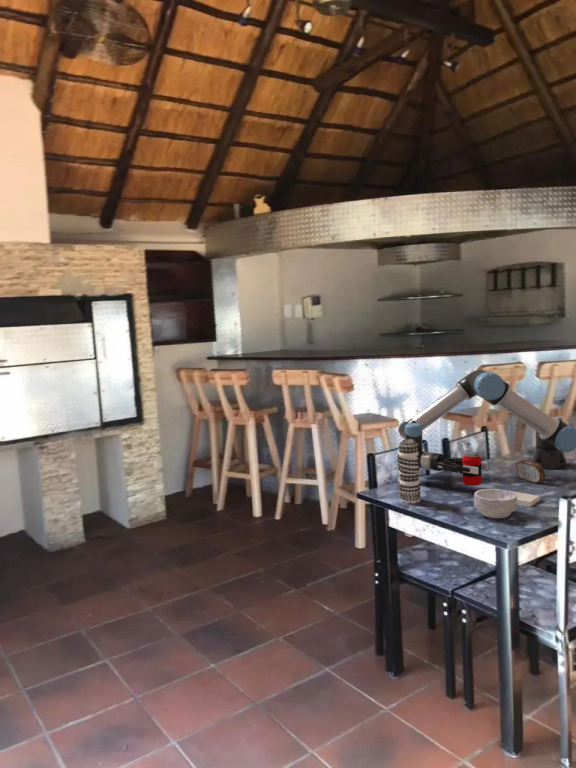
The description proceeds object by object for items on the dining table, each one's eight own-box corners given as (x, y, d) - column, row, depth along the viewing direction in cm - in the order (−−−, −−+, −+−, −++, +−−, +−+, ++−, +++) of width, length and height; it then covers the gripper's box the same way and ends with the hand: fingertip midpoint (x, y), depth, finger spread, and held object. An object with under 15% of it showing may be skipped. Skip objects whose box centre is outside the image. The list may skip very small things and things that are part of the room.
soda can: (482, 486, 250) (482, 457, 249) (463, 485, 252) (462, 457, 250) (480, 480, 258) (480, 453, 256) (462, 480, 259) (461, 453, 258)
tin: (545, 484, 260) (545, 465, 259) (540, 485, 259) (539, 466, 258) (520, 476, 274) (520, 458, 273) (514, 477, 273) (514, 459, 272)
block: (497, 496, 243) (530, 502, 234) (507, 490, 249) (539, 495, 240) (497, 501, 243) (530, 507, 234) (508, 495, 249) (539, 501, 240)
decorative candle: (410, 495, 256) (407, 437, 253) (426, 500, 249) (424, 440, 246) (394, 500, 251) (391, 440, 248) (410, 505, 244) (408, 444, 241)
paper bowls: (523, 512, 228) (523, 491, 227) (507, 524, 217) (507, 502, 216) (484, 505, 238) (484, 485, 237) (467, 516, 227) (466, 496, 226)
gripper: (445, 464, 274) (494, 471, 258) (421, 475, 260) (471, 483, 244) (445, 448, 273) (493, 454, 257) (420, 457, 259) (470, 465, 243)
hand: (482, 468), depth 251 cm, fingers closed on soda can, 7 cm apart
